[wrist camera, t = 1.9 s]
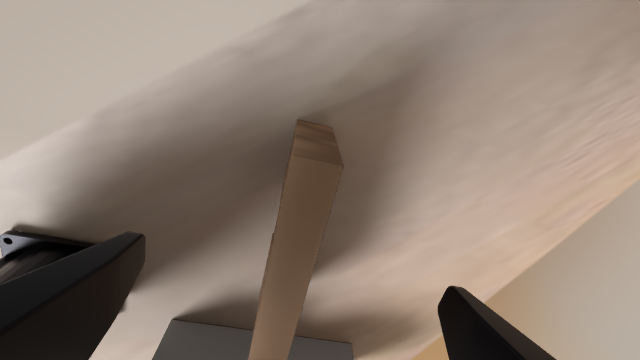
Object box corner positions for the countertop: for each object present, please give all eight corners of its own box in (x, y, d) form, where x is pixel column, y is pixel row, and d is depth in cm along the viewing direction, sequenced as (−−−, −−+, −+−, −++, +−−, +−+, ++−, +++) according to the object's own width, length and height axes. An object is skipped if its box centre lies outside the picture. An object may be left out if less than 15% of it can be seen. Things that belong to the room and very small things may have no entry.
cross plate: (262, 283, 22) (247, 363, 16) (297, 119, 17) (293, 155, 12) (289, 287, 22) (284, 368, 16) (331, 127, 17) (343, 166, 12)
